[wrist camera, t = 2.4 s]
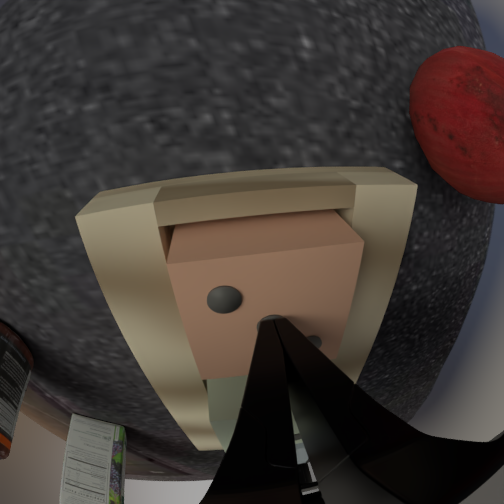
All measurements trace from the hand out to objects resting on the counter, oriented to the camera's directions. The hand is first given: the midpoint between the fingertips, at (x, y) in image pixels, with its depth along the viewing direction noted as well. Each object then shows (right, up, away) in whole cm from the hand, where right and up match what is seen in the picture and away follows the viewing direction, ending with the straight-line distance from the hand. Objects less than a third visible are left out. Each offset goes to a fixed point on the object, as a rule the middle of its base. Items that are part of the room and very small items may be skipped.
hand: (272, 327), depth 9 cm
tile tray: (0, -4, +7) cm, 8 cm away
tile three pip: (0, +2, +3) cm, 3 cm away
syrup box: (-17, -16, +12) cm, 26 cm away
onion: (+7, +9, +1) cm, 11 cm away
